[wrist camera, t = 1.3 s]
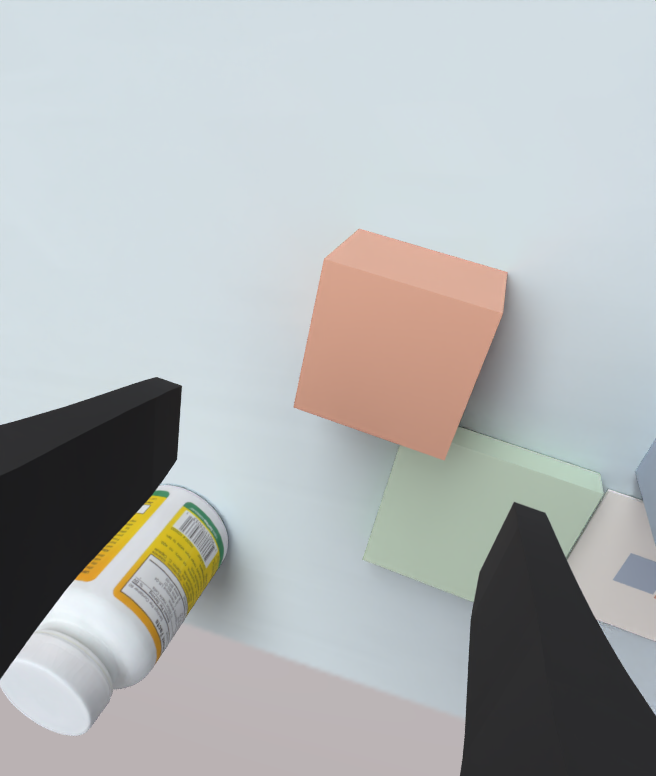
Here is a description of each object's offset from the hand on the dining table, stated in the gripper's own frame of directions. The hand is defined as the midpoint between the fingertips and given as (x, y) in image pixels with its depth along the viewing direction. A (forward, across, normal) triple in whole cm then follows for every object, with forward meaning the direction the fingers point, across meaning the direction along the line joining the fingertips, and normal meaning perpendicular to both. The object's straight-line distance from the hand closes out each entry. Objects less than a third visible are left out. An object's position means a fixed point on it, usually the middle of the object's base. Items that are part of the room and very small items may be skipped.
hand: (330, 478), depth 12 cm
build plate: (+9, -4, +7) cm, 13 cm away
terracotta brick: (+10, 0, 0) cm, 10 cm away
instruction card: (+9, -12, +7) cm, 16 cm away
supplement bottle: (+10, +8, +14) cm, 19 cm away
